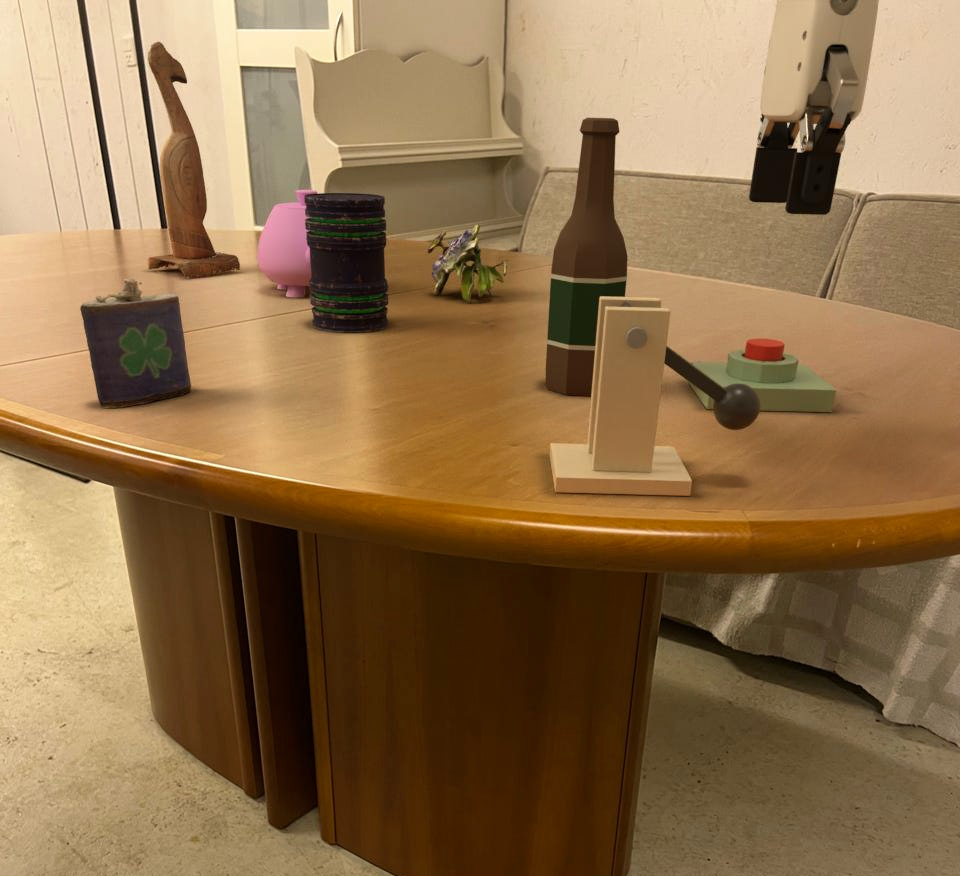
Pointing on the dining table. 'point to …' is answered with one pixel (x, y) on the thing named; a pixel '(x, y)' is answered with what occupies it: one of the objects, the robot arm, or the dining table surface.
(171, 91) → the bird sculpture
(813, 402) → the button box
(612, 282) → the beer bottle
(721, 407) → the lever
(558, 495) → the dining table surface
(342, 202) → the storage jar
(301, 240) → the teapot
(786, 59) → the robot arm
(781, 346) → the button
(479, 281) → the passion flower
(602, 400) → the bracket
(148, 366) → the flask
